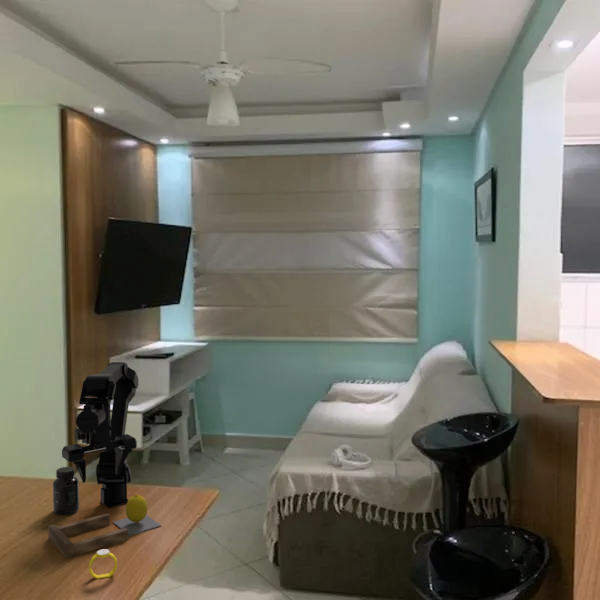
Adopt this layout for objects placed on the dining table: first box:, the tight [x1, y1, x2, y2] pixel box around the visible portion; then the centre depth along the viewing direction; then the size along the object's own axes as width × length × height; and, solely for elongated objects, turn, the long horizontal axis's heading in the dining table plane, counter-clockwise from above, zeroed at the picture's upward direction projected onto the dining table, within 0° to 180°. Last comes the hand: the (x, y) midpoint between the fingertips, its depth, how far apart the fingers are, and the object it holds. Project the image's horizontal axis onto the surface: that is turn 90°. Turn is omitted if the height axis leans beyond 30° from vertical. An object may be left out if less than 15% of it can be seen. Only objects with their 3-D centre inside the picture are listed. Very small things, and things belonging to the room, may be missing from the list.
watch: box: [88, 548, 118, 580], centre depth 138 cm, size 6×3×6 cm, turn 109°
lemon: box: [125, 494, 148, 524], centre depth 165 cm, size 6×6×8 cm
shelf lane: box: [47, 512, 129, 559], centre depth 156 cm, size 16×13×4 cm
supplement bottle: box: [52, 466, 80, 516], centre depth 173 cm, size 7×7×12 cm
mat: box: [113, 514, 162, 537], centre depth 165 cm, size 9×10×1 cm
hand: (100, 478), depth 166 cm, fingers open, 9 cm apart
